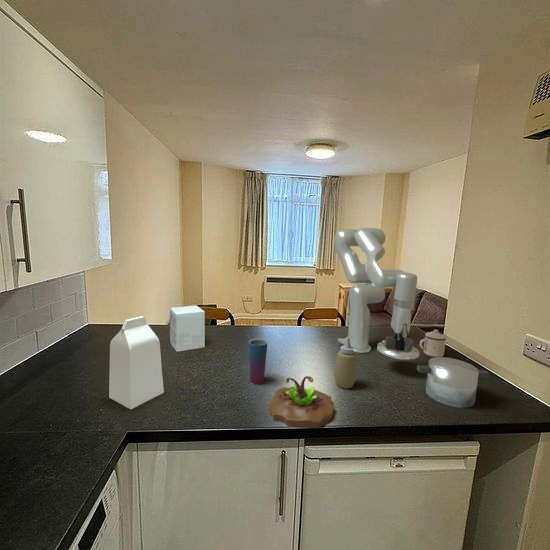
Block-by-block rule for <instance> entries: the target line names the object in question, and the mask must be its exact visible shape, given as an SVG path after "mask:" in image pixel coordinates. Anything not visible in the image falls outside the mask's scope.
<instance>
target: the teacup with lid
mask: <svg viewBox="0 0 550 550" xmlns="http://www.w3.org/2000/svg"><path fill="white" fill-rule="evenodd" d="M446 340H447V336H446V335H445V334H442V333H441V332H439V329H433V331H432V330H431V331H430V332H429V331H427V332H425V333H424V338H422V339H421V340H420V341H419V347H420V348H421V349H422V350H423V353H424V354H425V355H426V356H430V357H432V358H435V357H444V355H445V346H446ZM423 343H424V344H423Z"/></svg>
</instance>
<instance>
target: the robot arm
mask: <svg viewBox="0 0 550 550" xmlns="http://www.w3.org/2000/svg"><path fill="white" fill-rule="evenodd" d="M385 242H386V233H385V232H384V231H383V230H382V229H381V228H378V227H362V228H359V229H354V228H349V229H348V228H345V229H340V230H338V231H337V232H336V233H335V235H334V238H333V245H334V249H335V252H336V255H337V256H338V258H339V260H340V263H341V266H342V269H343V273H344V275H345V277H346V280H347V281H348V283H350V284H354V285H352V286H351V287H350V288H349V290H348V298H349V299H348V300H349V316H348V317H349V318H348V320H349V321H348V332H347V333H348V334H347V337H349V338H350V345H351V347H353V348H354V351H353V353H357V354H358V353H359V354H360V353H361V354H362V353H369V352H371V350H372V347H371V346H370V344H369V335H370V333H369V332H370V322H371V321H370V320H371V311H370V308H369V307H368V304H379V303H382V302H383V301H384V300H385V298H386V291H385V289H387V288H394V289H395V290H394V297H393V304H392V306H393V310H392V315H391V321H390V326H391V329H392V330H393V332H394V333H393V337H397V339H396V347H395V349H397V350H404V345H405V338H408V337H407V336H408V334H410V331H411V321H412V320H411V319H412V310H414V309H415V300H416V291H417V284H418V276H417V274H415V273H411V272H406V271H404V270H401V269H397V268H396V269H382V268H381V267H380V265H379V263H378V261H380V260H381V259H382V258H383V257H384V256H385V253H386V249H385V248H384V246H383V245H384V244H385ZM351 247H358V248H360V250H361V251H362V253H363V255H364V256H365V258H366V261H365V263H362V262H360V259H359V256H358V254H357V253H356V252H355V250H354V249H352V248H351ZM345 340H346V337H345V338H340V337H339V338H337V343H340V344H341V345H342V344H343V345H344V343H345Z"/></svg>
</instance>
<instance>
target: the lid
mask: <svg viewBox="0 0 550 550" xmlns="http://www.w3.org/2000/svg"><path fill="white" fill-rule="evenodd" d="M396 339H397V337H394V335H393V336H392V335H391V336H390V335H385V338H384V339H382V341H380V342H378V343H377V346H376V350H377V351H378V352H379V353H381V355H382V354H383V355H384V356H386V357H388V358H392V359H396V360H402V361H413V360H417V359H418V358H419V357H420V351H419V349H417V348H416V347H415V346H413V345H414V340H413V339H412V338H411V337H406V338H405V345H404V350H397V349H395V347H396Z"/></svg>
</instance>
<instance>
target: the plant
mask: <svg viewBox="0 0 550 550" xmlns="http://www.w3.org/2000/svg"><path fill="white" fill-rule="evenodd" d="M284 380H285V381H284V382H285V383H286V384H288V383H289V382H290V380H291V381H292V382H293V383H294V384H293V386H290V387H280V388H278V389H276V391H275V393H274V396H273V397H272V399H271V401H270V402H269V404H268V411H269V412H268V413H269V416H270V417H271V418H272V421H277V422H281V423H283V424H284V425H286V426H287V427H295V428H296V427H297V428H307V429H320V428H321V427H323V426H324V425H325V424H327V423H329V422H330V421H331V420H332V418H333V415H334V411H335V406H334V404H333V403H332V396H331V395H328V394H327V393H324V392H321V391H320V390H316V389H315V387H314V386H311V387H308V388H305V381H306V380H308V382H310V383H313V382H314V378H313V377H312V376H309V375H306V376H305V377H304V378H303V379H302V380H301V383H298V381H297V380H296V379H294V378H293V377H286V378H285V379H284Z"/></svg>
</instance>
